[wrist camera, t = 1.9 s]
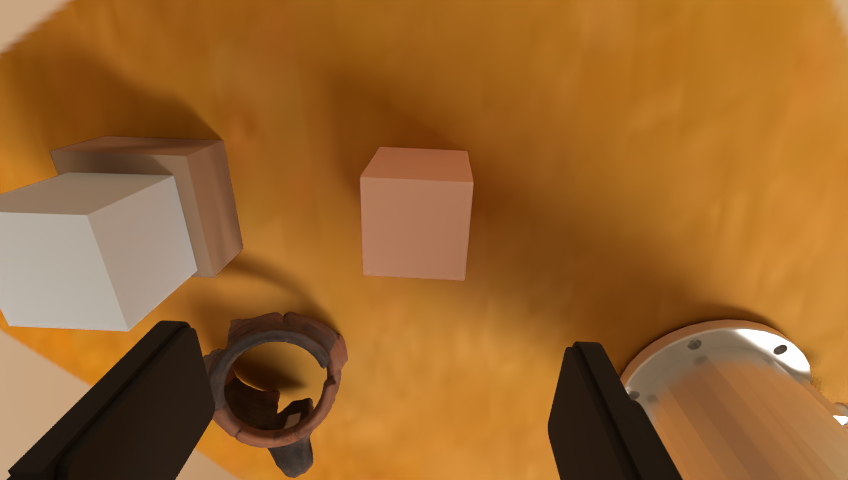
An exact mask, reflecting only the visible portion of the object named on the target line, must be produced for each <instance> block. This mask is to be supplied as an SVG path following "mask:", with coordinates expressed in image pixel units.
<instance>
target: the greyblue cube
mask: <svg viewBox="0 0 848 480" xmlns="http://www.w3.org/2000/svg"><path fill="white" fill-rule="evenodd" d="M196 271H197V266H196V262H195V258H194V254H193V250H192V246H191V242H190V238H189V234H188V230H187V226H186V222H185V218H184V214H183V210H182V206H181V203H180V199H179V195H178V191H177V187H176V183H175V179H174V175H141V174H107V173H73V172H69V173H65V174H62V175H59V176H56V177H53V178H50V179H47V180H44V181H41V182H38V183H34V184H31V185H28V186H25V187H22V188H19V189H16V190H13V191H10V192H7V193H3V194H0V309H1V311H2V313H3V315H4V317H5V319H6V321H7V323H8V325H9V326H22V327H44V328H67V329H89V330H111V331H129V330H131V329H132V328H133V327H134V326H135V325H136V324H137V323H139V322H140V321H141V320H142V319H143V318H144V317H145V316H146V315H148V314H149V313H150V312H151V311H152V310H153V309H154V308H156V307H157V306H158V305H159V304H160V303H161V302H162V301H163V300H165V299H166V298H167V297H168V296H169V295H170V294H171V293H172V292H174V291H175V290H176V289H177V288H178V287H179V286H180V285H182V284H183V283H184V282H185V281H186V280H187V279H188V278H189V277H191V276H192V275H193V274H194V273H195V272H196Z"/></svg>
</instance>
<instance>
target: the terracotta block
mask: <svg viewBox="0 0 848 480" xmlns="http://www.w3.org/2000/svg"><path fill="white" fill-rule="evenodd" d="M473 185H474V181H473V177H472V172H471V167H470V162H469V157H468V152H467V151H461V150H440V149H418V148H396V147H379V149H378V150H377V152H376V153H375V155H374V156H373V158H372V159H371V161H370V162H369V164H368V165H367V167H366V169H365V170H364V172H363V173H362V175H361V176H360V193H361V223H362V252H363V275H371V276H389V277H407V278H425V279H443V280H461V281H465V272H466V261H467V250H468V239H469V229H470V218H471V207H472V196H473Z"/></svg>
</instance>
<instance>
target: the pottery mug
mask: <svg viewBox="0 0 848 480" xmlns="http://www.w3.org/2000/svg"><path fill="white" fill-rule="evenodd" d="M275 341H279V342H287V343H291V344H295V345H298V346H300V347H302V348H304V349H306V350H307V351H308V352H309V353H311V354H312V355H313V356H314V357H315V358H316V360H317V361H318V363H319V364H320V366H321V367H322V368H325V367H327V380H326V381H325V382H324V386H323V391H322V395H321V398H320V400H319V402H318V404H317V406H316V407H315V408H314V407H313V402H312V399H311V398H306V399H303V400H296V401H293V402H291V403H290V404H289V405H288V406H287V407H286V408H285V409H284V410H283V411H281V412H280V413H278V414H277V409H278V401H279V397H280V392H279V391H272V392H268V391H261V390H257V389H255V388H252V387H250V386H248V385H246V384H244V383H243V382H241V381H240V380H239V379H238V378H237V377H236V374H235V373H234V371H233V368H232V364H233V363H234V361H235V360H236V359H237V357H239V356H240V355H241V354H242V353H244V352H245V351H247V350H249V349H251V348H252V347H254V346H256V345H260V344H262V343H265V342H275ZM203 360H204V363H205V367H206V371H207V375H208V379H209V382H210V386H211V390H212V394H213V397H214V401H215V412H214V415H213V418H212V419H213V420H214V421H215V422H216V423H217V424H218V425H219V426H220V427H221V428H222V429H224V430H225V431H226V432H227V433H228V434H229V435H230V436H232V437H235V438H236V439H237V440H238V441H240V442H241V443H244V444H247V445H250V446H254V447H259V448H268V450H269V451H270V453H271V455H272V457H273V459H274V461H275V463H276V465H277V466H278V467H279V468H280V469H281V470H282V472H283V473H284V474H285V475H286V476H288V477H292V478H295V477H297V476H299V475H301V474H303V473H306V472H307V471H308V469H309V468H310V467H311V466H312V464H313V452H312V447H311V442H310V435H311V433H312V431H313V430H314V429H315V428H316V427H317V426H318V425H319V424H320V423H321V422H322V421H323V420H324V419H325V418H326V416H327V414H328V413H329V411H330V409H331V407H332V404H333V403H334V401H335V396H336V394H337V391H338V388H339V385H340V380H341V369H342V367H343V366H344V365H345V363H346V361H347V360H348V357H347V349H346V346H345V342H344V339H343V337H342V336H341V335H338V336H337V333H336V331H335V330H333V329H331V328H330V327H328V326H327V325H325V324H323V323H321V322H319V321H317V320H315V319H313V318H310V317H308V316H305V315H300V314H297V313H294V312H287V313H286V314H285V315H284V316H281V315H280V314H279V313H277V312H274V313H269V314H265V315H262V316H258V317H256V318H251V319H244V320H241V319H236V320H232V321H231V326H230V329H229V334H228V344H227V348H226V349H225V350H222V349H217V350H213V351H212V352H211V353H210V354H209V355H205V356H204V357H203ZM313 409H314V410H313Z"/></svg>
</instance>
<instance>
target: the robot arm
mask: <svg viewBox="0 0 848 480" xmlns="http://www.w3.org/2000/svg"><path fill="white" fill-rule="evenodd" d="M214 412H215V401H214V397H213V394H212V390H211V386H210V382H209V379H208V375H207V371H206V367H205V363H204V360H203V356H202V352H201V348H200V344H199V341H198V337H197V333H196V331H195V329H194V328H191V327H190V325H189V324H188V323H187V322H183V321H160V322H158V323H157V324H156V325H155V326H154V327H153V328H152V329H151V330H150V331H149V332H148V333H147V334H146V335H145V336H144V337H143V338H142V339H141V340H140V341H139V342H138V343H137V344H136V345H135V346H134V347H133V348H132V349H131V350H130V351H129V352H128V353H127V354H126V355H125V356H124V357H122V358H121V359H120V360H119V361H118V362H117V363H116V364H115V365H114V366H113V367H112V368H111V369H110V370H109V371H108V372H107V373H106V374H105V375H104V376H103V377H102V378H101V379H100V380H99V381H98V382H97V383H96V384H95V385H94V386H93V387H92V388H91V389H90V390H89V391H88V392H87V393H86V394H85V395H84V396H83V397H82V398H81V399H80V400H79V401H78V402H77V403H76V404H75V405H74V406H73V407H72V408H71V409H70V410H69V411H68V412H67V413H66V414H65V415H64V416H63V417H62V418H61V419H60V420H59V421H58V422H57V423H56V424H55V425H54V426H53V427H52V428H51V429H50V430H49V431H48V432H47V433H46V434H45V435H44V436H43V437H42V438H41V439H40V440H39V441H38V442H37V443H36V444H35V445H34V446H33V447H32V448H31V449H30V450H28V451H27V453H25V455H23V457H21V458H20V459H19V461H17V462H16V464H14V465H13V466H12V467H11V468H10V469H9V470H8V472H9V474H10V475H11V476H10V477H9V478H8V479H7V480H175V479H176V477H177V476H178V474H179V473H180V471H181V469H182V468H183V466H184V464H185V463H186V461H187V459H188V458H189V456H190V454H191V453H192V451H193V449H194V448H195V446H196V445H197V443H198V441H199V440H200V438H201V436H202V435H203V433H204V431H205V430H206V428H207V426H208V425H209V423H210V421H211V420H212V418H213V415H214ZM844 425H848V403H831V402H830V401H829V400H828V399H827V398H826V397H825V396H823V395H822V394H821V393H820V392H819V391H818V390H817V389H816V388H815V387H814V386H813V385H812V384H811V371H810V366H809V363H808V361H807V359H806V357H805V355H804V354H803V352H802V351H801V350H800V349H799V348H798V347H797V346H796V345H795V344H794V343H793V342H792V341H790V340H789V339H788V338H787V337H785V336H784V335H783V334H781V333H780V332H779V331H777V330H775V329H773V328H770V327H768V326H766V325H764V324H760V323H755V322H751V321H746V320H729V319H727V320H716V321H707V322H703V323H698V324H694V325H690V326H687V327H684V328H682V329H679V330H676V331H674V332H671V333H669V334H667V335H665V336H664V337H662V338H660V339H658V340H656V341H654V342H653V343H652V344H650V345H649V346H648V347H646V348H645V349H644V350H642V351H641V352H640V353H639V354H638V355H637V356H636V357H635V358H634V359H633V360H632V361H631V362H630V363H629V365H628V366H627V368H626V369H625V371H624V372H623V374H622V375H621V377H620V378H619V376H618V374H617V373H616V371H615V369H614V367H613V365H612V363H611V361H610V359H609V358H608V356H607V354H606V352H605V350H604V348H603V346H602V345H601V344H600V343H596V342H575V343H574V344H573V347H567V348H566V350H565V354H564V358H563V362H562V366H561V371H560V375H559V379H558V383H557V387H556V392H555V396H554V400H553V404H552V408H551V413H550V417H549V421H548V435H549V439H550V443H551V447H552V450H553V454H554V458H555V461H556V465H557V468H558V472H559V476H560V479H561V480H848V427H845V426H844Z"/></svg>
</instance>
